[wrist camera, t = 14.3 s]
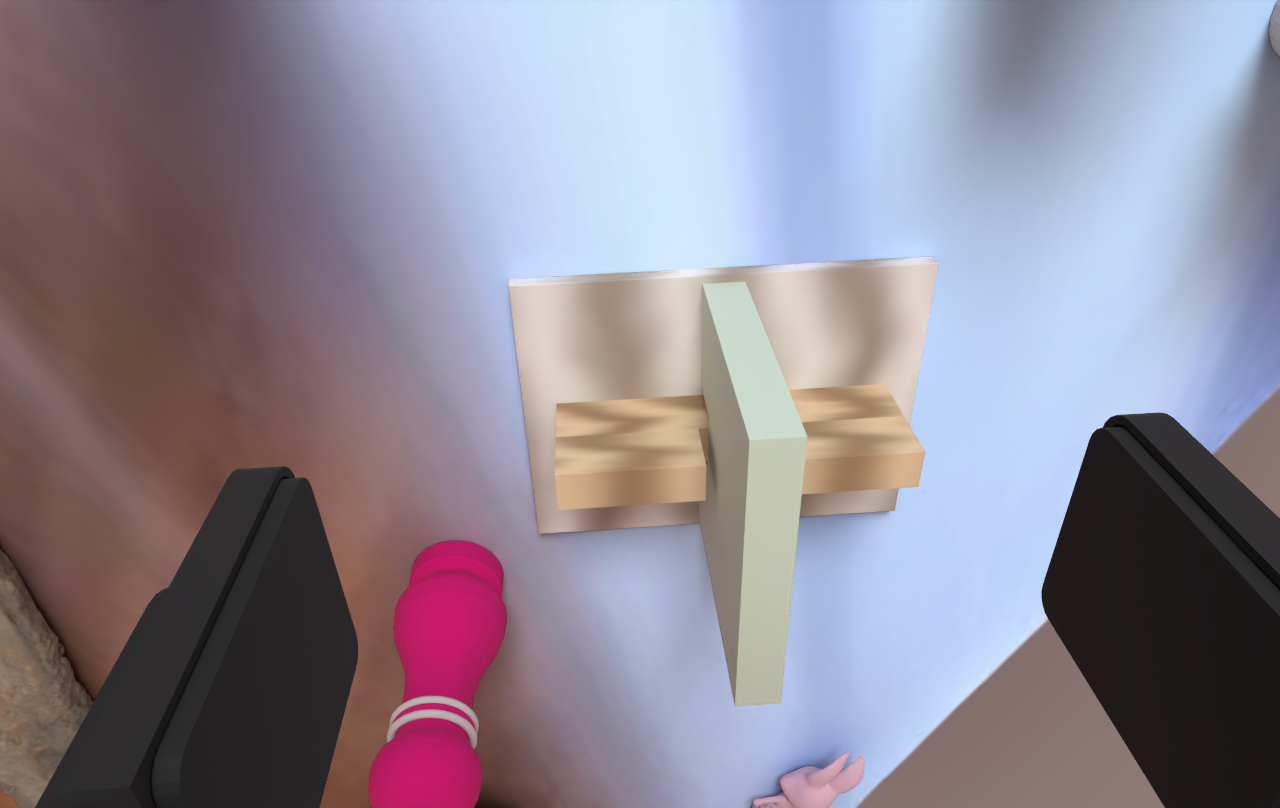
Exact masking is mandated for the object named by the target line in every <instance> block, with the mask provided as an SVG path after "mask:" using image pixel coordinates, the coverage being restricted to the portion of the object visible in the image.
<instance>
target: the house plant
mask: <svg viewBox="0 0 1280 808" xmlns="http://www.w3.org/2000/svg"><path fill="white" fill-rule="evenodd" d="M1269 37H1270V42H1271V46H1272V48H1273V49H1274V51H1275V53H1276V54H1277V55H1278V56H1279V57H1280V0H1278V1H1277V3H1276V5H1275V7H1274V10H1273V13H1272V16H1271V19H1270V27H1269Z"/></svg>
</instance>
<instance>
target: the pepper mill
mask: <svg viewBox="0 0 1280 808" xmlns="http://www.w3.org/2000/svg"><path fill="white" fill-rule="evenodd" d="M502 585H503V569H502V566H501V564H500V562H499V561H498V559H497V558H496V557H495V556H494V555H493V554H492V553H491V552H490V551H488V550H487V549H486V548H484V547H482V546H479V545H477V544H474V543H471V542H465V541H446V542H441V543H438V544H435V545H433V546H431V547H428V548H427V549H425V550H424V551H423V552H422V553H421V554H420V555H419V556H418V557H417V558H416V560H415V562H414V564H413V567H412V572H411V577H410V581H409V587H408V588H407V589H406V590H405V592H404V593H403V594H402V595H401V597H400V598H399V601H398V603H397V606H396V608H395V616H394V625H393V629H394V637H395V644H396V647H397V650H398V653H399V656H400V659H401V661H402V664H403V667H404V671H405V690H404V698H403V702H402V705H400V706H399V707H398V708H397V709H396V710H395V711H394V713H393V714H392V716H391V719H390V728H389V730H388V733H387V744H385V745H384V746H383V747H382V749H381V750H380V751H379V753H378V754H377V756H376V757H375V759H374V761H373V764H372V767H371V770H370V774H369V784H368V794H369V799H370V803H371V806H372V808H474V806H475V804H476V802H477V800H478V798H479V794H480V789H481V785H482V766H481V762H480V760H479V757H478V755H477V753H476V752H475V750H474V749H475V747H476V745H477V733H478V728H479V724H478V719H477V717H476V715H475V713H474V712H473V711H472V705H473V700H474V695H475V691H476V689H477V686H478V684H479V681H480V679H481V677H482V676H483V674H484V673H485V671H486V670H487V668H488V667H489V665H490V664H491V662H492V661H493V659H494V658H495V656H496V655H497V653H498V650H499V648H500V646H501V643H502V641H503V638H504V634H505V628H506V623H507V613H506V608H505V605H504V603H503V601H502V599H501V595H502Z"/></svg>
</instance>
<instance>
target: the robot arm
mask: <svg viewBox="0 0 1280 808" xmlns="http://www.w3.org/2000/svg"><path fill="white" fill-rule="evenodd" d="M1042 603H1043V607H1044V611H1045V613H1046V615H1047V617H1048V619H1049V621H1050V622H1051V624H1052V626H1053V627H1054V629H1055V631H1056V632H1057V634H1058V635H1059V637H1060V639H1061V640H1062V642H1063V643H1064V645H1065V647H1066V648H1067V650H1068V652H1069V653H1070V655H1071V656H1072V658H1073V660H1074V661H1075V663H1076V664H1077V666H1078V668H1079V669H1080V671H1081V673H1082V674H1083V676H1084V677H1085V679H1086V681H1087V682H1088V684H1089V686H1090V687H1091V689H1092V690H1093V692H1094V693H1095V695H1096V697H1097V698H1098V700H1099V702H1100V703H1101V705H1102V707H1103V708H1104V710H1105V711H1106V713H1107V715H1108V716H1109V718H1110V719H1111V721H1112V723H1113V724H1114V726H1115V727H1116V729H1117V731H1118V732H1119V734H1120V736H1121V737H1122V739H1123V740H1124V742H1125V744H1126V745H1127V747H1128V749H1129V750H1130V752H1131V753H1132V755H1133V757H1134V758H1135V760H1136V761H1137V763H1138V765H1139V766H1140V768H1141V769H1142V771H1143V773H1144V774H1145V776H1146V778H1147V779H1148V781H1149V783H1150V784H1151V786H1152V787H1153V789H1154V791H1155V792H1156V794H1157V795H1158V797H1159V799H1160V800H1161V802H1162V803H1163V805H1164V807H1165V808H1280V518H1279V517H1278V516H1276V515H1275V514H1274V513H1273V512H1272V511H1271V510H1270V509H1269V508H1268V507H1267V506H1266V505H1265V504H1264V503H1263V502H1262V501H1261V500H1260V499H1258V498H1257V497H1256V496H1255V495H1254V494H1253V493H1252V492H1251V491H1250V490H1249V489H1248V488H1247V487H1246V486H1245V485H1244V484H1243V483H1242V482H1240V481H1239V480H1238V479H1237V478H1236V477H1235V476H1234V475H1233V474H1232V473H1231V472H1230V471H1229V470H1228V469H1227V468H1226V467H1225V466H1224V465H1223V464H1222V463H1220V462H1219V461H1218V460H1217V459H1216V458H1215V457H1214V456H1213V455H1212V454H1211V453H1210V452H1209V451H1208V450H1207V449H1206V448H1205V447H1204V446H1203V445H1201V444H1200V443H1199V442H1198V441H1197V440H1196V439H1195V438H1194V437H1193V436H1192V435H1191V434H1190V433H1189V432H1188V431H1187V430H1186V429H1185V428H1184V427H1182V426H1181V425H1180V424H1179V423H1178V422H1177V421H1176V420H1175V419H1174V418H1173V417H1171V416H1170V415H1168V414H1165V413H1145V414H1129V415H1116V416H1113V417H1110V418H1109V419H1108V420H1107V421H1106V422H1105V424H1104V426H1103V428H1100V429H1097V430H1096V431H1095V432H1094V433H1093V434H1092V436H1091V438H1090V440H1089V443H1088V447H1087V450H1086V453H1085V456H1084V459H1083V462H1082V465H1081V468H1080V471H1079V474H1078V478H1077V481H1076V484H1075V487H1074V490H1073V493H1072V496H1071V499H1070V502H1069V505H1068V509H1067V512H1066V515H1065V518H1064V521H1063V524H1062V527H1061V530H1060V533H1059V537H1058V540H1057V543H1056V546H1055V549H1054V552H1053V555H1052V558H1051V561H1050V564H1049V568H1048V571H1047V574H1046V577H1045V580H1044V583H1043V587H1042ZM357 659H358V642H357V636H356V632H355V628H354V625H353V622H352V619H351V615H350V612H349V609H348V605H347V602H346V599H345V596H344V592H343V589H342V586H341V582H340V579H339V576H338V572H337V569H336V566H335V563H334V559H333V556H332V553H331V549H330V546H329V543H328V540H327V536H326V533H325V530H324V526H323V523H322V520H321V517H320V513H319V510H318V507H317V503H316V500H315V497H314V494H313V490H312V487H311V485H310V482H309V481H308V480H307V479H306V478H295V477H294V474H293V472H292V471H291V470H290V469H289V468H287V467H268V468H252V469H238V470H235V471H233V472H232V473H231V475H230V476H229V477H228V479H227V481H226V483H225V485H224V487H223V488H222V490H221V492H220V494H219V496H218V498H217V499H216V501H215V503H214V505H213V507H212V509H211V510H210V512H209V514H208V516H207V518H206V520H205V521H204V523H203V525H202V527H201V529H200V531H199V533H198V534H197V536H196V538H195V540H194V542H193V544H192V545H191V547H190V549H189V551H188V553H187V555H186V556H185V558H184V560H183V562H182V564H181V566H180V567H179V569H178V571H177V573H176V575H175V577H174V579H173V580H172V582H171V584H170V586H169V588H165V589H163V590H162V591H160V592H159V593H157V594H156V595H155V596H154V598H153V599H152V600H151V602H150V603H149V604H148V606H147V608H146V609H145V611H144V613H143V615H142V617H141V618H140V620H139V622H138V624H137V626H136V627H135V629H134V631H133V633H132V635H131V636H130V638H129V640H128V642H127V643H126V645H125V647H124V649H123V651H122V652H121V654H120V656H119V658H118V660H117V661H116V663H115V665H114V667H113V669H112V670H111V672H110V674H109V676H108V677H107V679H106V681H105V683H104V685H103V686H102V688H101V690H100V692H99V694H98V695H97V697H96V699H95V701H94V703H93V704H92V706H91V708H90V710H89V712H88V713H87V715H86V717H85V719H84V720H83V722H82V724H81V726H80V728H79V729H78V731H77V733H76V735H75V737H74V738H73V740H72V742H71V744H70V746H69V747H68V749H67V751H66V753H65V755H64V756H63V758H62V760H61V762H60V763H59V765H58V767H57V769H56V771H55V772H54V774H53V776H52V778H51V780H50V781H49V783H48V785H47V787H46V789H45V790H44V792H43V794H42V796H41V797H40V799H39V801H38V803H37V805H36V806H35V808H319V807H320V803H321V800H322V796H323V792H324V788H325V784H326V781H327V777H328V773H329V769H330V765H331V761H332V758H333V754H334V750H335V746H336V742H337V739H338V735H339V731H340V727H341V723H342V719H343V716H344V712H345V708H346V704H347V700H348V697H349V693H350V689H351V685H352V681H353V678H354V674H355V670H356V665H357Z"/></svg>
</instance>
